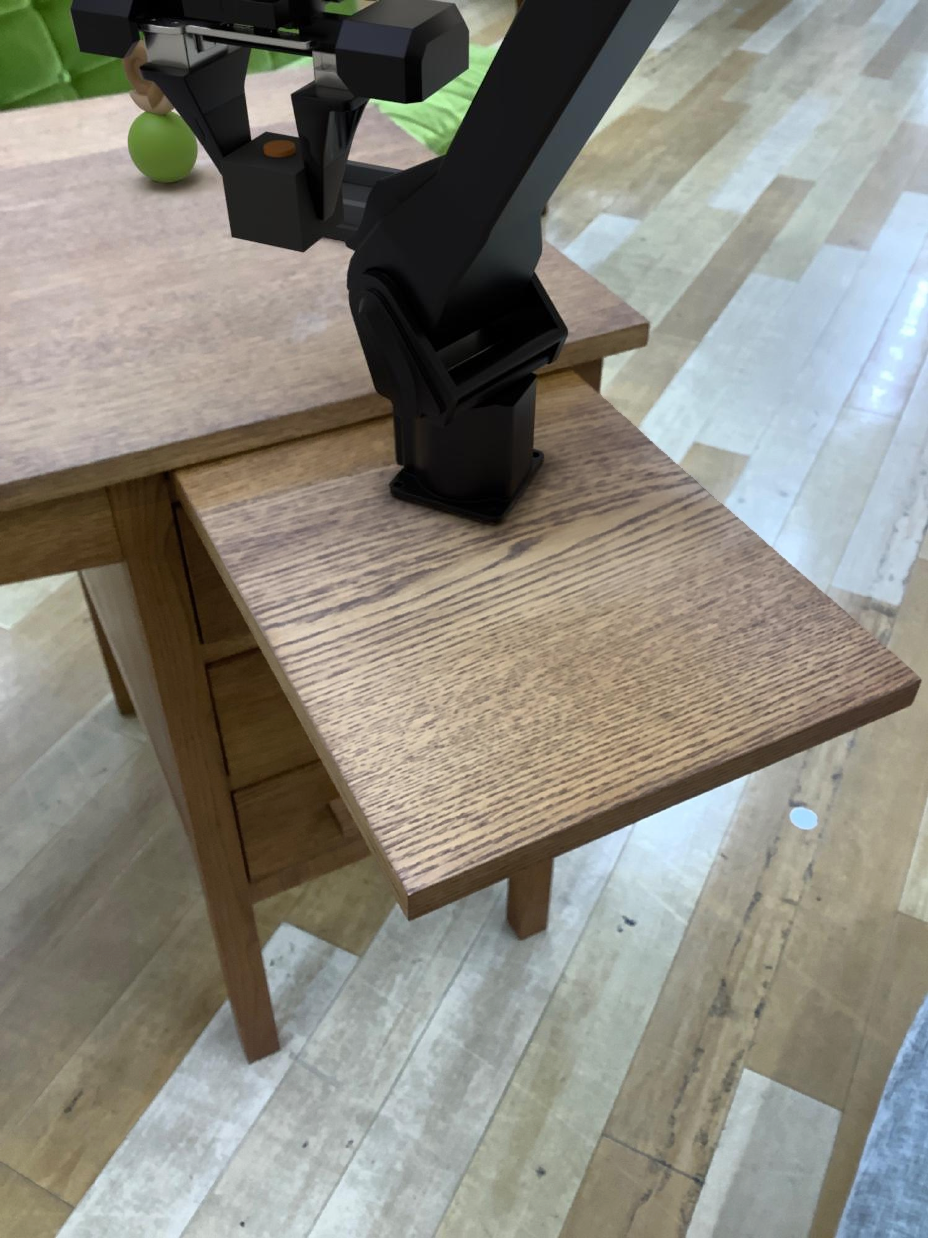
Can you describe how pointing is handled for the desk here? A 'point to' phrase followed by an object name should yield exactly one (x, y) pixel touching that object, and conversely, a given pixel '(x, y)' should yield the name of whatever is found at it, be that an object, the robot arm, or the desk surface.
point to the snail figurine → (157, 128)
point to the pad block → (273, 195)
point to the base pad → (357, 194)
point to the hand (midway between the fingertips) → (287, 209)
